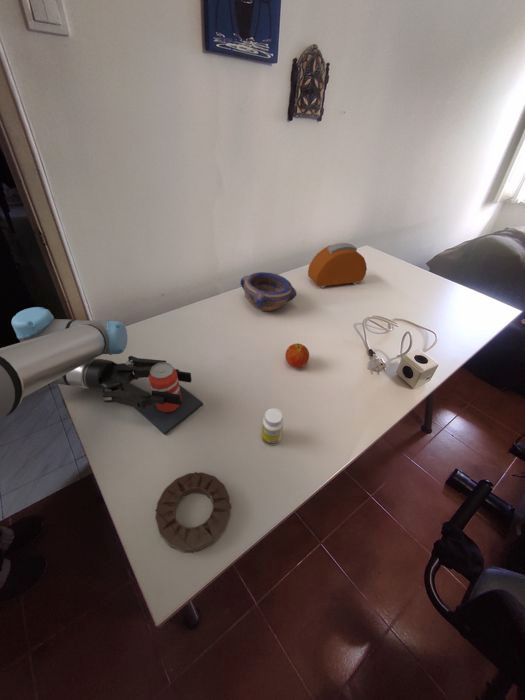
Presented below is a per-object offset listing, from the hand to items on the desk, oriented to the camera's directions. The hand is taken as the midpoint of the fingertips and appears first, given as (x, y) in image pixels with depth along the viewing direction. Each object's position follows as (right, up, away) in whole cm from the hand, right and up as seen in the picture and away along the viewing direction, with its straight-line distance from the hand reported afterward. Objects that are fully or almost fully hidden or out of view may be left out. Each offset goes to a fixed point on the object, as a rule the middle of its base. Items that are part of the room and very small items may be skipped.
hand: (185, 388), depth 73 cm
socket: (+5, -22, -13) cm, 26 cm away
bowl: (+20, +26, +45) cm, 56 cm away
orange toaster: (+50, +38, +62) cm, 88 cm away
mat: (-5, -5, +6) cm, 9 cm away
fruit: (+28, +5, +20) cm, 35 cm away
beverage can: (-5, -5, +5) cm, 9 cm away
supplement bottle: (+20, -12, +1) cm, 23 cm away
